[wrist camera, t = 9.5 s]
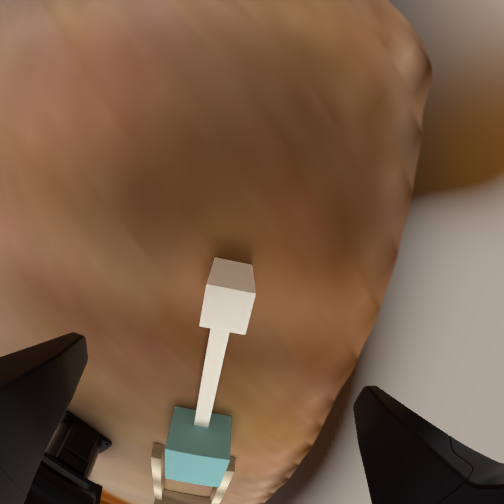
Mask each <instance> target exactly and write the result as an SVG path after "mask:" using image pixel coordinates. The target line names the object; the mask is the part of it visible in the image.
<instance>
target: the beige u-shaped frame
mask: <svg viewBox="0 0 504 504" xmlns="http://www.w3.org/2000/svg"><path fill="white" fill-rule="evenodd" d="M151 464H152V475H153V485H154V494H155V501H154V504H219V503H220V501H221V499H222V497H223V495H224V493H225V491H226V489H227V487H228V485H229V483H230V480H231V478H232V476H233V474H234V472H235V458H234V457H230V462H229V464H228V467H227V469H226V472H225V474H224V477H223V479H222V482H221V484H220V487H214V488H213V491H212V493H211V496H210V498H208V497H201V496H194V495H188V494H183V493H177V492H173V491H168V490H164V445H160V444H156V443H154V447H153V451H152V455H151Z"/></svg>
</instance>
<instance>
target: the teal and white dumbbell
mask: <svg viewBox="0 0 504 504" xmlns="http://www.w3.org/2000/svg"><path fill="white" fill-rule="evenodd" d="M255 295H256V290H255V282H254V275H253V267H252V265H250V264H246V263H241V262H236V261H231V260H226V259H221V258H217V257H215V259H214V262H213V265H212V268H211V271H210V274H209V278H208V281H207V284H206V290H205V296H204V301H203V307H202V313H201V319H200V325H199V326H201V327H206V328H211V329H210V335H209V340H208V346H207V351H206V357H205V362H204V368H203V374H202V379H201V385H200V391H199V397H198V403H197V409H196V410H192V409H187V408H182V407H178V406H175V408H174V412H173V417H172V421H171V425H170V429H169V433H168V438H167V442H166V446H165V478H167V479H172V480H176V481H181V482H187V483H192V484H198V485H205V486H212V487H220V484H221V482H222V479H223V477H224V474H225V472H226V469H227V467H228V464H229V462H230V440H231V416H227V415H221V414H214V413H212V408H213V404H214V399H215V395H216V390H217V386H218V381H219V377H220V372H221V368H222V364H223V359H224V355H225V350H226V346H227V341H228V337H229V333H230V332H231V333H237V334H243V335H245V334H246V331H247V327H248V323H249V319H250V315H251V311H252V307H253V303H254V299H255Z"/></svg>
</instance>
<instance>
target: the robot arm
mask: <svg viewBox="0 0 504 504" xmlns="http://www.w3.org/2000/svg"><path fill="white" fill-rule="evenodd" d="M87 360H88V354H87V345H86V338H85V337H84V336H83V335H81V334H78V333H75V332H72V333H69V334H66V335H63V336H61V337H58V338H55V339H52V340H49V341H46V342H43V343H40V344H37V345H35V346H32V347H29V348H26V349H23V350H20V351H17V352H14V353H11V354H8V355H5V356H2V357H0V504H100V498H101V493H102V486H101V485H99V484H96V483H94V482H92V481H90V480H89V477H90V474H91V472H92V469H93V467H94V464H95V462H96V459H97V457H98V454H99V453H101V452H103V451H104V450H106V449H108V448H109V447H111V445H112V443H111V442H110V441H109V440H107V439H106V438H104V437H103V436H101V435H100V434H98V433H97V432H96V431H94V430H93V429H91V428H90V427H88V426H87V425H86V424H84V423H83V422H82V421H80V420H79V419H78V418H76V417H75V416H74V415H72V414H71V413H70V412H68V411H66V409H67V407H68V405H69V403H70V401H71V400H72V397H73V395H74V392H75V390H76V387H77V385H78V383H79V380H80V378H81V375H82V373H83V371H84V368H85V366H86V364H87ZM353 408H354V409H353V410H354V417H355V424H356V431H357V438H358V444H359V449H360V453H361V457H362V461H363V466H364V470H365V474H366V478H367V483H368V487H369V492H370V497H371V500H372V504H504V464H503V463H499V462H497V461H495V460H492V459H490V458H488V457H486V456H484V455H482V454H480V453H478V452H476V451H474V450H472V449H471V448H469V447H467V446H465V445H464V444H462V443H460V442H459V441H457V440H455V439H454V438H452V437H451V436H448V434H446V433H445V432H443V431H442V430H440V429H438V428H437V427H435V426H434V425H432V424H431V423H429V422H428V421H426V420H425V419H423V418H422V417H421V416H419V415H418V414H416V413H414V412H413V411H412V410H410V409H409V408H407V407H406V406H404V405H403V404H401V403H400V402H399V401H397V400H396V399H394V398H393V397H391V396H390V395H389V394H387V393H386V392H384V391H383V390H381V389H380V388H379V387H377V386H365V387H364V388H363V389H362V391H361V392H360V394H359V396H358V397H357V399H356V401H355V403H354V407H353ZM55 430H56V431H55ZM54 432H55V433H54ZM53 434H54V435H53ZM52 436H53V437H52Z"/></svg>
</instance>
